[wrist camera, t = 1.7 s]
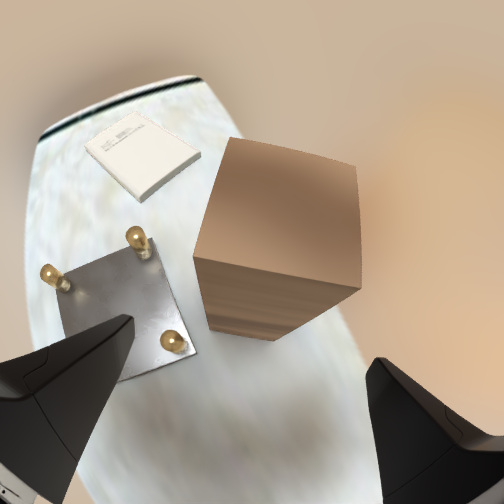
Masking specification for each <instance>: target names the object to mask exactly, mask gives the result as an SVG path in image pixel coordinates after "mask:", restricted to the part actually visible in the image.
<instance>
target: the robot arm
mask: <svg viewBox="0 0 504 504" xmlns="http://www.w3.org/2000/svg"><path fill="white" fill-rule="evenodd" d="M134 339H135V322H134V317H133V316H131V315H127V314H121V315H118V316H116V317H114V318H111V319H109V320H107V321H104V322H102V323H100V324H98V325H95V326H93V327H91V328H88V329H86V330H84V331H81V332H79V333H77V334H75V335H72V336H70V337H68V338H65V339H63V340H61V341H58V342H56V343H54V344H51V345H50V346H47V347H44V348H42V349H40V350H37V351H35V352H32V353H30V354H27V355H24V356H21V357H18V358H15V359H12V360H8V361H5V362H2V363H0V504H33V503H34V501H35V499H36V497H37V494H38V495H40V496H41V497H43V498H45V499H46V500H48V501H49V502H51V503H53V504H62V502H63V500H64V497H65V494H66V492H67V489H68V487H69V484H70V482H71V479H72V477H73V475H74V472H75V470H76V467H77V465H78V462H79V460H80V458H81V456H82V453H83V451H84V449H85V447H86V444H87V442H88V440H89V438H90V436H91V433H92V431H93V429H94V427H95V425H96V423H97V421H98V419H99V417H100V415H101V412H102V410H103V408H104V406H105V404H106V402H107V400H108V398H109V396H110V394H111V392H112V390H113V389H114V387H115V385H116V383H117V381H118V379H119V377H120V375H121V373H122V370H123V368H124V365H125V362H126V360H127V357H128V355H129V352H130V349H131V347H132V344H133V342H134ZM366 387H367V397H368V407H369V413H370V419H371V424H372V429H373V435H374V440H375V446H376V452H377V458H378V465H379V472H380V479H381V487H382V496H383V504H504V436H493V435H489V434H486V433H485V432H483V431H482V430H480V429H479V428H477V427H476V426H474V425H473V424H471V423H470V422H468V421H467V420H465V419H464V418H462V417H461V416H459V415H458V414H457V413H455V412H454V411H453V410H451V409H450V408H449V407H447V406H446V405H444V403H442V402H441V401H440V400H438V399H437V398H436V397H435V396H433V395H432V394H431V393H430V392H428V391H427V390H426V389H424V388H423V387H422V386H421V385H419V384H418V383H417V382H416V381H414V380H413V379H412V378H410V377H409V376H408V375H406V374H405V373H404V372H403V371H401V370H400V369H399V368H398V367H396V366H395V365H394V364H393V363H391V362H390V361H388V359H386V358H382V357H377V358H375V359H374V361H373V362H372V364H371V366H370V367H369V369H368V371H367V373H366Z"/></svg>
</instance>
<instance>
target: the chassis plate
mask: <svg viewBox="0 0 504 504" xmlns="http://www.w3.org/2000/svg"><path fill="white" fill-rule="evenodd" d="M126 239H127V241H128V243H129V244H130V246H129V247H126V248H124V249H122V250H119V251H117V252H114V253H112V254H109V255H107V256H104V257H102V258H100V259H97V260H95V261H93V262H90V263H88V264H86V265H83V266H81V267H79V268H76V269H74V270H72V271H69V272H67V273H65V274H62V273H61V272H59V271H58V270H57V269H56V268H54V267H53V266H52V265H51V264H46V265H44V266H43V267H42V269H41V272H40V277H41V279H42V280H43V281H45V282H46V283H48V284H49V285H51V286H52V287H54V288H55V289H56V294H57V300H58V305H59V310H60V315H61V320H62V324H63V329H64V333H65V337H66V338H68V337H70V336H72V335H75V334H77V333H79V332H81V331H84V330H86V329H88V328H91V327H93V326H95V325H98V324H100V323H102V322H104V321H107V320H109V319H111V318H114V317H116V316H118V315H121V314H127V315H131V316H133V317H134V322H135V339H134V342H133V344H132V347H131V349H130V352H129V355H128V357H127V360H126V362H125V365H124V368H123V370H122V373H121V375H120V377H119V379H118V381H117V382H120V381H123V380H126V379H129V378H132V377H135V376H137V375H140V374H143V373H146V372H149V371H152V370H154V369H157V368H160V367H163V366H165V365H168V364H171V363H173V362H176V361H179V360H181V359H184V358H186V357H189V356H191V355H194V354H196V353H197V352H196V350H195V348H194V345H193V343H192V341H191V339H190V336H189V334H188V331H187V329H186V327H185V324H184V322H183V319H182V317H181V315H180V312H179V310H178V307H177V305H176V302H175V299H174V297H173V294H172V292H171V289H170V286H169V284H168V281H167V278H166V275H165V273H164V270H163V267H162V264H161V261H160V258H159V255H158V253H157V250H156V247H155V244H154V241H153V239H152V238H149V239H147V238H146V236H145V233H144V231H143V229H142V228H141V227H139V226H133V227H131V228H129V229H128V231H127V232H126Z"/></svg>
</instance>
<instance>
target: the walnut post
mask: <svg viewBox="0 0 504 504" xmlns="http://www.w3.org/2000/svg"><path fill="white" fill-rule="evenodd" d="M361 257H362V256H361V227H360V210H359V197H358V185H357V175H356V167H355V166H352V165H349V164H346V163H343V162H339V161H336V160H332V159H328V158H325V157H321V156H317V155H314V154H310V153H305V152H302V151H297V150H293V149H289V148H285V147H279V146H275V145H271V144H266V143H261V142H256V141H250V140H245V139H239V138H233V137H230V138H229V141H228V143H227V146H226V149H225V152H224V155H223V158H222V161H221V164H220V167H219V170H218V173H217V176H216V179H215V182H214V186H213V189H212V192H211V195H210V198H209V202H208V205H207V208H206V211H205V215H204V218H203V221H202V225H201V228H200V232H199V235H198V239H197V242H196V246H195V249H194V253H193V260H194V265H195V269H196V274H197V279H198V283H199V287H200V292H201V296H202V300H203V305H204V309H205V313H206V317H207V321H208V325H209V329H210V330H213V331H218V332H223V333H228V334H234V335H239V336H244V337H250V338H256V339H262V340H268V341H275V340H277V339H279V338H281V337H282V336H284V335H286V334H288V333H290V332H291V331H293V330H295V329H297V328H298V327H300V326H302V325H304V324H305V323H307V322H309V321H310V320H312V319H314V318H315V317H317V316H319V315H320V314H322V313H324V312H325V311H327V310H328V309H330V308H332V307H333V306H335V305H336V304H338V303H339V302H341V301H343V300H344V299H346V298H347V297H349V296H351V295H352V294H354V293H355V292H357V291H358V290H360V289H361V288H362V287H361V286H362V258H361Z"/></svg>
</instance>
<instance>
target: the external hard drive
mask: <svg viewBox="0 0 504 504" xmlns="http://www.w3.org/2000/svg"><path fill="white" fill-rule="evenodd" d="M85 149H86V151H87V152H88V153H89V154H90V155H91V156H92V157H93V158H94V159H95V160H96V161H97V162H98V163H99V164H100V165H101V166H102V167H103V168H104V169H105V170H106V171H107V172H108V173H110V174H111V175H112V176H113V177H114V178H115V179H116V180H117V181H118V182H119V183H120V184H121V185H122V186H123V187H124V188H125V189H126V190H127V191H128V192H129V193H130V194H132V195H133V196H134V197H135V198H136V199H137V200H138V201H139V202H140V203H142V202H143V201H145V200H146V199H147V198H148V197H149V196H151V195H152V194H153V193H154V192H155V191H157V190H158V189H159V188H160V187H162V186H163V185H164V184H166V183H167V182H168V181H169V180H171V179H172V178H173V177H175V176H176V175H177V174H178V173H180V172H181V171H182V170H184V169H185V168H186V167H188V166H189V165H191V164H192V163H193V162H195V161H196V160H197V159H199V158H200V157H201V152H200V151H199V150H198V149H196V148H195V147H193V146H192V145H190V144H188V143H187V142H185V141H184V140H182V139H181V138H179V137H178V136H176V135H174V134H173V133H171V132H170V131H168V130H166V129H165V128H163V127H162V126H160V125H158V124H157V123H155V122H153V121H152V120H150V119H148V118H147V117H145V116H143V115H142V114H140V113H138V112H137V111H135V112H132V113H131V114H129V115H127V116H126V117H124V118H123V119H121V120H120V121H118V122H116V123H115V124H113V125H112V126H110V127H109V128H107V129H106V130H104V131H103V132H101V133H100V134H98V135H97V136H95V137H94V138H93V139H91V140H90V141H88V142H87V143H86V144H85Z"/></svg>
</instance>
